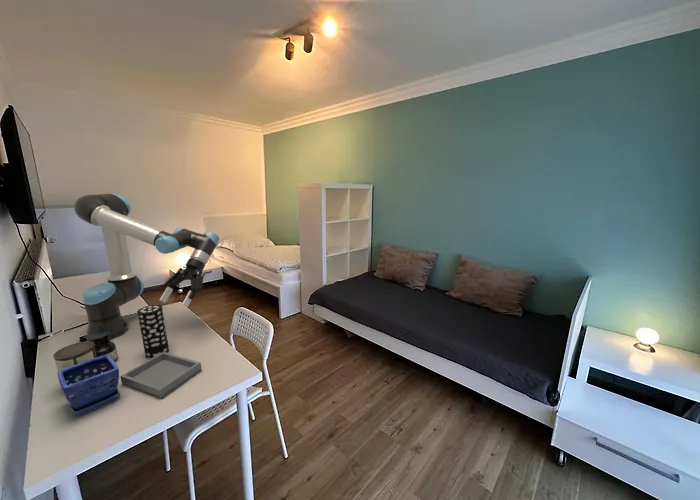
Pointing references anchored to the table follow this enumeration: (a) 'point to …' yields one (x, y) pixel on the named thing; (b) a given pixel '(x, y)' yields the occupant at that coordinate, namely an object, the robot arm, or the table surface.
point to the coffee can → (75, 356)
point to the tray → (161, 374)
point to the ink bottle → (103, 345)
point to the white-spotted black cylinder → (153, 330)
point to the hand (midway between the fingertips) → (173, 303)
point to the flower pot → (90, 384)
